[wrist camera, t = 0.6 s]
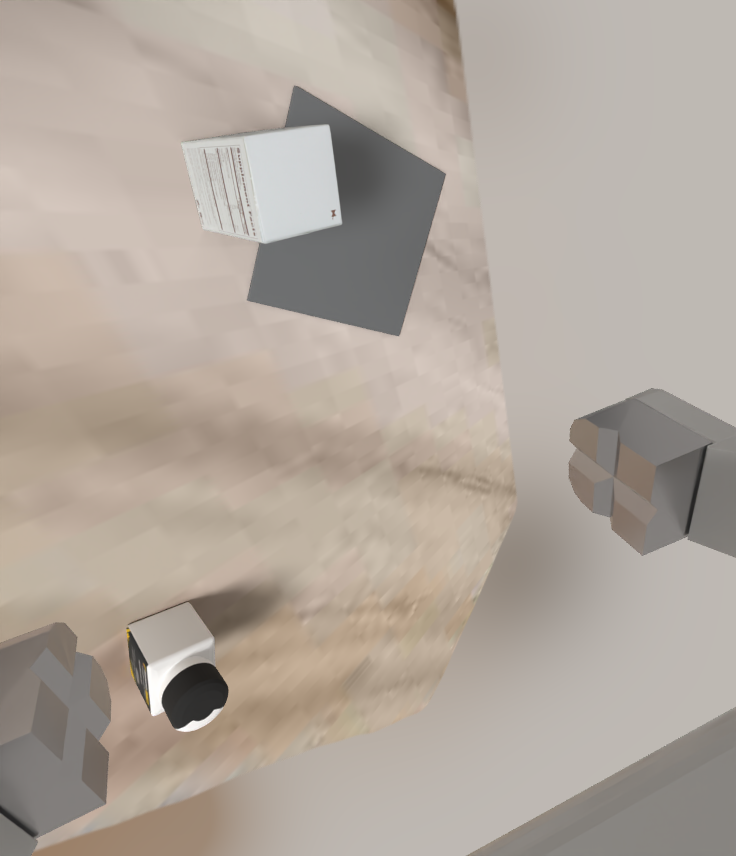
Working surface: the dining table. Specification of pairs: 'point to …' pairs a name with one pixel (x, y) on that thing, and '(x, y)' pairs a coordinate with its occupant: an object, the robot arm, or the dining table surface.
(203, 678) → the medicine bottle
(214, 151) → the supplement box
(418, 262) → the mat
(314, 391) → the dining table surface
